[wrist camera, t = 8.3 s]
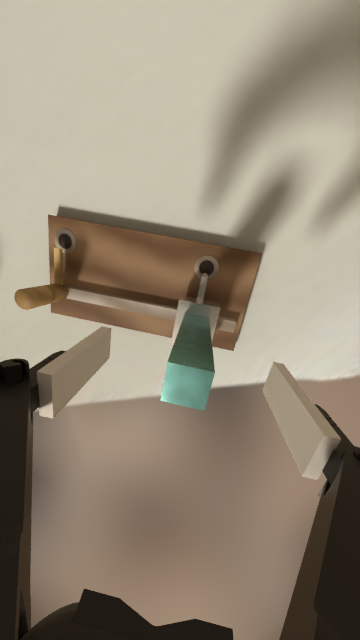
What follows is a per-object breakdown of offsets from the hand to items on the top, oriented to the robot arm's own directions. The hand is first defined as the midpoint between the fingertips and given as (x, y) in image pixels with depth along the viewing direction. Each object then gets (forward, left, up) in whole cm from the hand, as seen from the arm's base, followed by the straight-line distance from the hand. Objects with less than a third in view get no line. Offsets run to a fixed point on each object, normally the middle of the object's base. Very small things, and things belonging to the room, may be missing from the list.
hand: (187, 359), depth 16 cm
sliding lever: (-1, 0, -13) cm, 13 cm away
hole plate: (-3, -8, -15) cm, 17 cm away
